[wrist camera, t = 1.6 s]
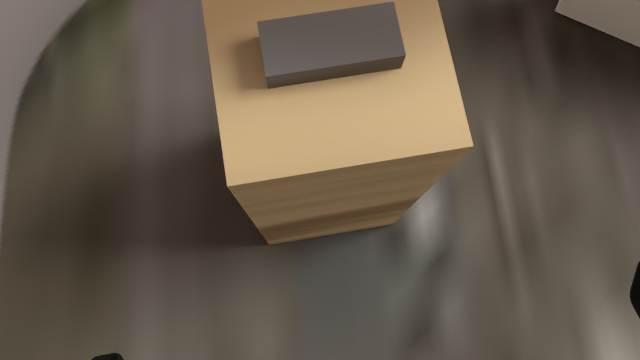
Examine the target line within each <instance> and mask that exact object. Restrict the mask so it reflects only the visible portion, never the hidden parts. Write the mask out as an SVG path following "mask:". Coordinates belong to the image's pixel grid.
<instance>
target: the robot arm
mask: <svg viewBox="0 0 640 360" xmlns="http://www.w3.org/2000/svg"><path fill="white" fill-rule="evenodd" d="M630 299H631V303H632V305H633V307H634V309H635V311H636V313H637V315H638V316H639V318H640V261H639V263H638V265H637V268H636V272H635V275H634V279H633V282H632V286H631V289H630ZM91 360H124V359H123V358H122V356H121V355H120V354H119V353H111V354H106V355H100V356H96V357H94V358H93V359H91Z"/></svg>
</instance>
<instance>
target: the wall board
mask: <svg viewBox="0 0 640 360" xmlns="http://www.w3.org/2000/svg"><path fill="white" fill-rule="evenodd" d="M555 12H557V13H560V14H562V15H565V16H567V17H569V18H572V19H574V20H576V21H579V22H581V23H583V24H586V25H588V26H591V27H593V28H595V29H598V30H600V31H602V32H605V33H607V34H609V35H612V36H614V37H617V38H619V39H621V40H624V41H626V42H628V43H631V44H633V45H635V46H638V47H640V0H559V2H558V4H557V7H556V9H555Z"/></svg>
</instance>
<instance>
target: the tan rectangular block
mask: <svg viewBox="0 0 640 360" xmlns="http://www.w3.org/2000/svg"><path fill="white" fill-rule="evenodd" d="M202 6H203V14H204V21H205V28H206V36H207V43H208V50H209V58H210V65H211V72H212V79H213V87H214V94H215V101H216V109H217V116H218V123H219V131H220V138H221V145H222V152H223V160H224V167H225V174H226V182H227V187H228V188H229V190H230V191H231V192H232V194H233V195H234V197H235V198H236V199H237V201H238V202H239V204H240V205H241V206H242V208H243V209H244V210H245V212H246V213H247V215H248V216H249V217H250V219H251V220H252V221H253V223H254V224H255V226H256V227H257V228H258V230H259V231H260V233H261V234H262V235H263V237H264V238H265V239H266V241H267V242H268V244H269V245H274V244H279V243H285V242H291V241H297V240H303V239H309V238H315V237H320V236H326V235H332V234H338V233H344V232H350V231H356V230H362V229H367V228H373V227H379V226H385V225H391V224H393V223H394V222H395V221H396V220H397V219H398V218H399V217H400V216H401V215H402V214H404V213H405V212H406V211H407V210H408V209H409V208H410V207H411V206H412V205H413V204H414V203H415V202H416V201H417V200H418V199H419V198H420V197H421V196H422V195H423V194H424V193H425V192H426V191H427V190H428V189H429V188H430V187H432V186H433V185H434V184H435V183H436V182H437V181H438V180H439V179H440V178H441V177H442V176H443V175H444V174H445V173H446V172H447V171H448V170H449V169H450V168H451V167H452V166H453V165H454V164H455V163H456V162H457V161H459V160H460V159H461V158H462V157H463V156H464V155H465V154H466V153H467V152H468V151H469V150H470V149H471V148H472V147H473V143H472V138H471V134H470V130H469V126H468V122H467V118H466V114H465V110H464V106H463V102H462V98H461V94H460V90H459V86H458V82H457V78H456V73H455V69H454V65H453V61H452V57H451V53H450V49H449V45H448V41H447V37H446V33H445V29H444V25H443V21H442V17H441V13H440V8H439V4H438V0H202Z"/></svg>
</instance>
